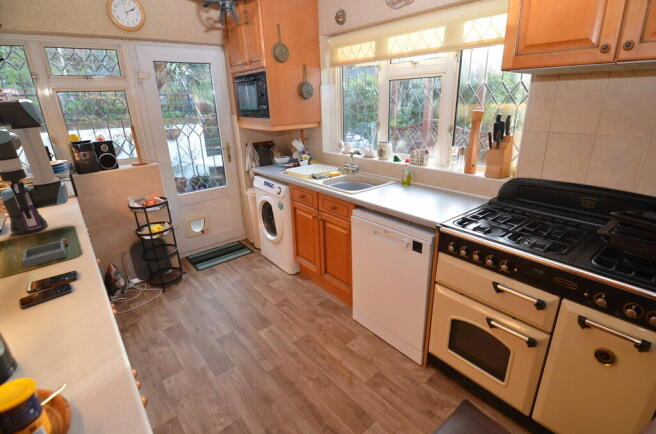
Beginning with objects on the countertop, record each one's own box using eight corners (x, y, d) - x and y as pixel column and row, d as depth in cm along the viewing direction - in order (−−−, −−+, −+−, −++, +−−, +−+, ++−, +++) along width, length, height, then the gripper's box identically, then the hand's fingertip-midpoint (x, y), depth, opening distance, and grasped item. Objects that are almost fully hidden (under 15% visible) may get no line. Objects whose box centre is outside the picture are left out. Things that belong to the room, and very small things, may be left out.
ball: (60, 244, 157) (58, 238, 156) (69, 242, 159) (66, 236, 158) (60, 246, 155) (58, 240, 154) (69, 244, 157) (67, 238, 156)
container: (33, 230, 139) (19, 195, 133) (24, 229, 140) (10, 195, 134) (44, 225, 143) (31, 192, 137) (35, 225, 144) (22, 192, 138)
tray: (26, 255, 148) (23, 249, 147) (65, 246, 156) (62, 240, 154) (24, 267, 137) (21, 261, 136) (66, 256, 145) (63, 250, 144)
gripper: (0, 168, 137) (22, 220, 145) (-5, 175, 123) (20, 232, 132) (24, 164, 141) (44, 216, 149) (21, 171, 128) (43, 227, 136)
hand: (32, 223), depth 141 cm, fingers closed on container, 5 cm apart
